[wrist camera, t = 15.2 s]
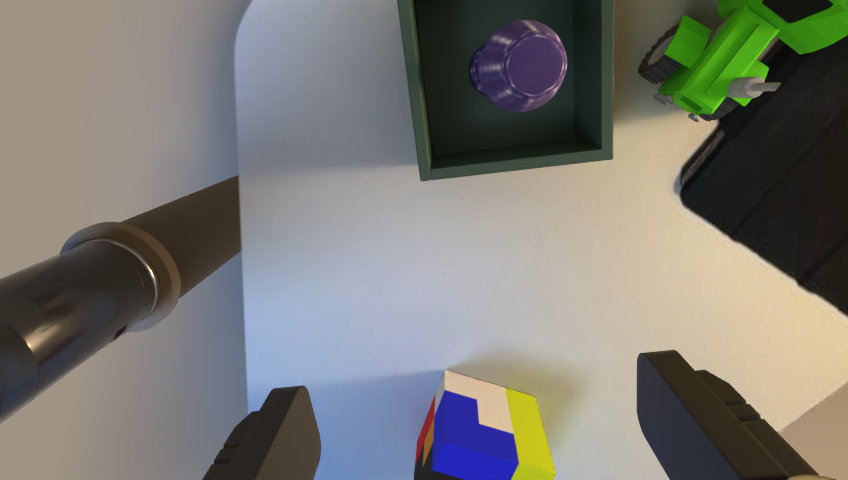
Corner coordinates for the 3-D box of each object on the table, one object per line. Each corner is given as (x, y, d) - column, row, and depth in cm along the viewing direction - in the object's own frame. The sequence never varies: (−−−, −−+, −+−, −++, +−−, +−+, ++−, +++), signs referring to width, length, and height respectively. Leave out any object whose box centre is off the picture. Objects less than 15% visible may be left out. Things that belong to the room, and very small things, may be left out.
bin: (426, 164, 40) (420, 181, 32) (405, -5, 36) (393, -31, 28) (581, 145, 39) (613, 159, 31) (578, -32, 34) (615, -66, 27)
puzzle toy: (445, 369, 47) (443, 440, 37) (534, 396, 47) (556, 473, 38) (417, 441, 50) (409, 523, 40) (501, 466, 50) (513, 553, 41)
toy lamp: (537, 66, 36) (607, 47, 20) (502, 116, 37) (542, 135, 21) (489, 30, 35) (522, -19, 19) (455, 82, 36) (460, 77, 21)
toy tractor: (603, 71, 37) (656, 64, 27) (748, -137, 32) (875, -234, 22) (706, 142, 38) (791, 159, 28) (860, -47, 33) (1026, -102, 24)
